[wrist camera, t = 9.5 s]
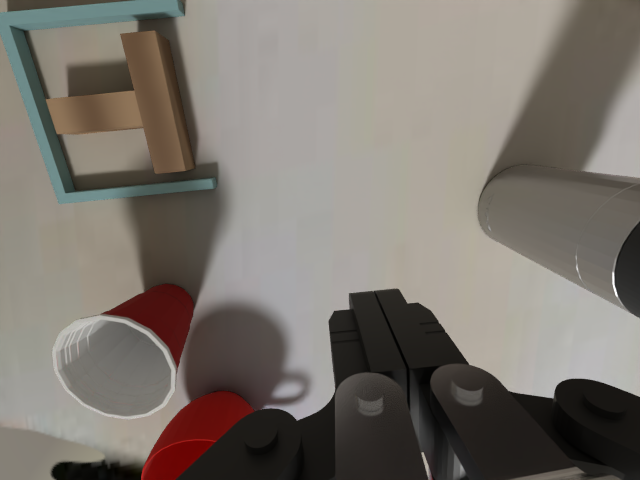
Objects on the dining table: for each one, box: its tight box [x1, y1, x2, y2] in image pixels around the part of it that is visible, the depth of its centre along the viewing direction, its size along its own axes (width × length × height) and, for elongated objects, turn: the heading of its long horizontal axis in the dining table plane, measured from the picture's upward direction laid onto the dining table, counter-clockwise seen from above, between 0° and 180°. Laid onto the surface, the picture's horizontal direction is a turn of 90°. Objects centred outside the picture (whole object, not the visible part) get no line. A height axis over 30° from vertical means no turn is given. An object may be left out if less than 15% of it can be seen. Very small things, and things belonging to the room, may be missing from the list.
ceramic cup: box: [141, 391, 255, 480], centre depth 40 cm, size 13×17×10 cm
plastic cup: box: [52, 284, 194, 419], centre depth 33 cm, size 11×11×12 cm
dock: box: [0, 0, 217, 204], centre depth 32 cm, size 16×17×2 cm
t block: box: [46, 31, 195, 174], centre depth 31 cm, size 11×12×3 cm
